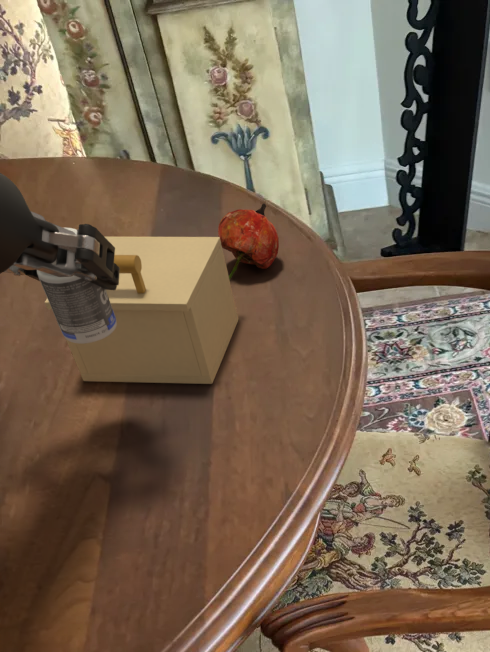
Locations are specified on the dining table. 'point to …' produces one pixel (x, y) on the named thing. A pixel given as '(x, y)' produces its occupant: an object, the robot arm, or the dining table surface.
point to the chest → (166, 339)
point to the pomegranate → (249, 237)
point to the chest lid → (160, 271)
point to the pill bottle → (79, 306)
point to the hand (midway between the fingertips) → (84, 275)
